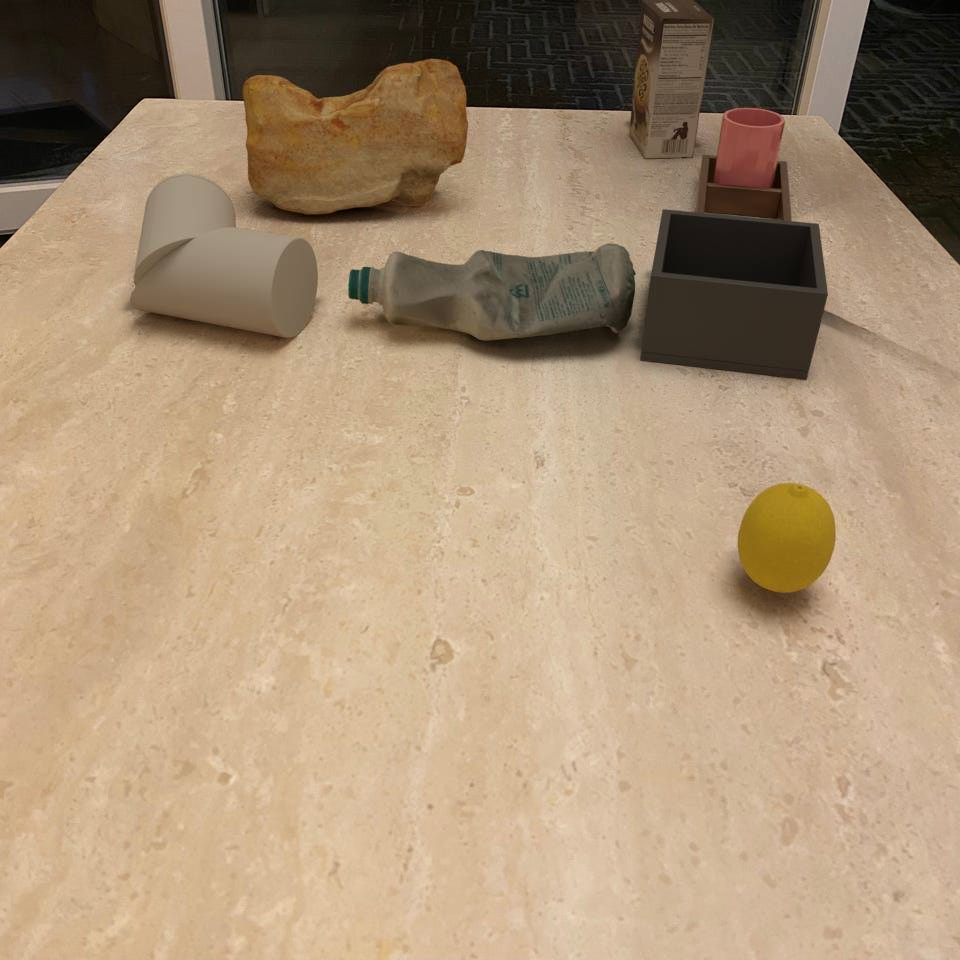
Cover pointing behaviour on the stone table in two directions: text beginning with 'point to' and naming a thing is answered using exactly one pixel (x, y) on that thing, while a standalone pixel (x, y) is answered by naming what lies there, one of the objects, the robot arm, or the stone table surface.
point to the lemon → (786, 537)
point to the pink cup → (748, 147)
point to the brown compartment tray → (744, 194)
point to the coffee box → (669, 77)
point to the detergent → (504, 292)
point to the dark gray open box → (735, 294)
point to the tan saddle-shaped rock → (355, 139)
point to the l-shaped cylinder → (219, 263)
